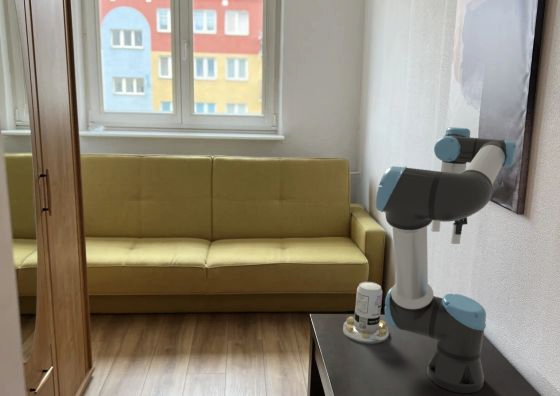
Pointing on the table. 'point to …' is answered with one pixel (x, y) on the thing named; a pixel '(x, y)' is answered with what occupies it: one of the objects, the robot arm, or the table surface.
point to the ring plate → (362, 340)
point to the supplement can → (368, 307)
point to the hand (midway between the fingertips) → (444, 237)
